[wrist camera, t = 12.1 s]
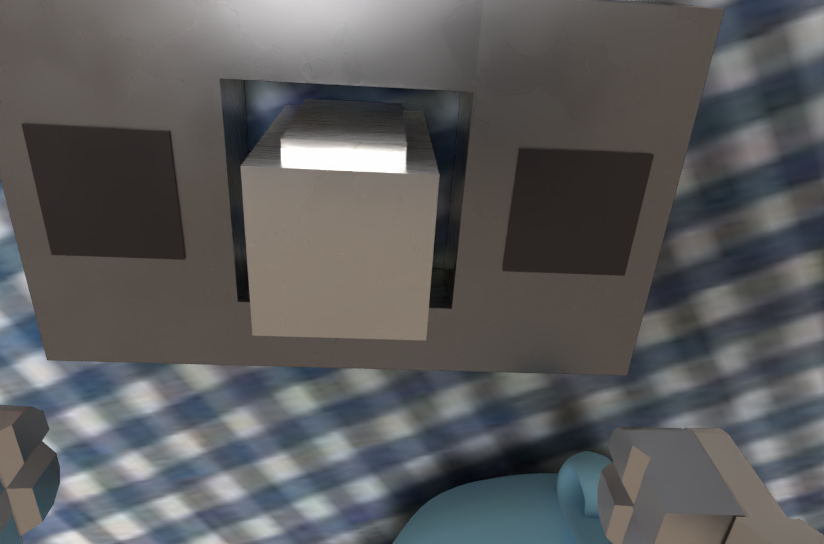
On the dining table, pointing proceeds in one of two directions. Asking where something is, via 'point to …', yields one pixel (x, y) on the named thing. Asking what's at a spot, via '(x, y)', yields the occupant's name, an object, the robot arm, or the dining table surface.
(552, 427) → the dining table surface
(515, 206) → the grey flat block
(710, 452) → the robot arm
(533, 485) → the decorative pot
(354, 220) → the stepped metal block
